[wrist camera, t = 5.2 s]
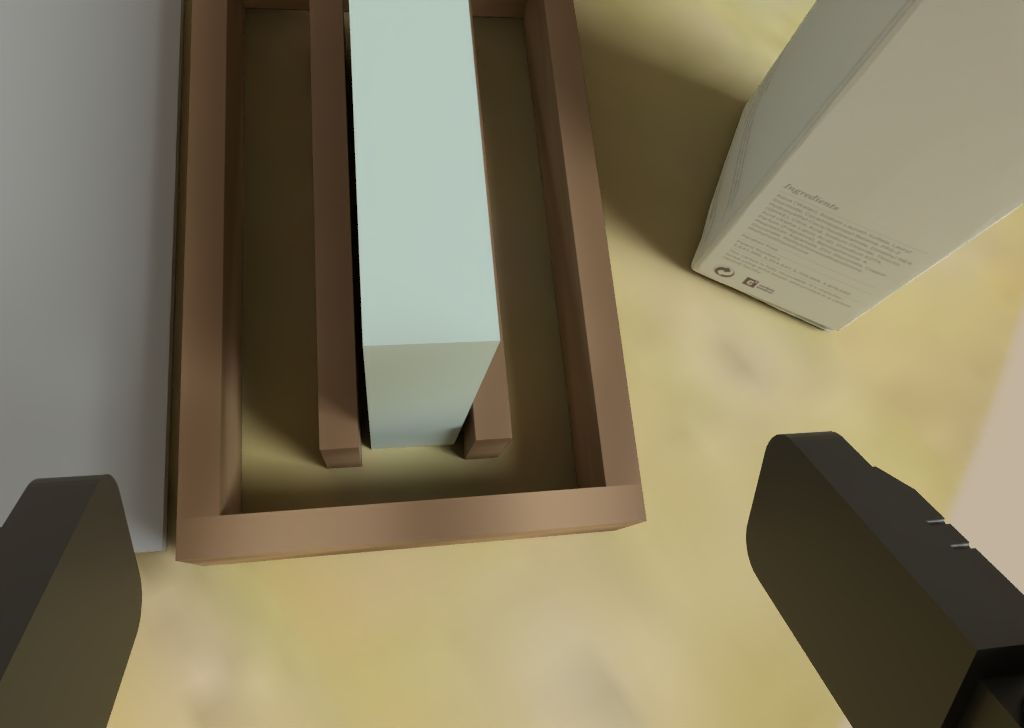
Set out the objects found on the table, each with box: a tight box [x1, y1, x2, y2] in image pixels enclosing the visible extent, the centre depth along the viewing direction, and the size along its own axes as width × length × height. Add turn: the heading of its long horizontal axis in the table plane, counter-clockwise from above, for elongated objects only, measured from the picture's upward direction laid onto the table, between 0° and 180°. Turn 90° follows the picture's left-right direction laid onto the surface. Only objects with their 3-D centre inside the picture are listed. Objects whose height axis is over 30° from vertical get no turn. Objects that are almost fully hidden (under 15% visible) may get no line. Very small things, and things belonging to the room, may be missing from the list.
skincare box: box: [691, 0, 1024, 331], centre depth 21 cm, size 8×6×15 cm
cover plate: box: [349, 0, 500, 450], centre depth 21 cm, size 2×14×10 cm, turn 6°
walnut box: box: [176, 0, 646, 566], centre depth 24 cm, size 12×20×3 cm, turn 6°
